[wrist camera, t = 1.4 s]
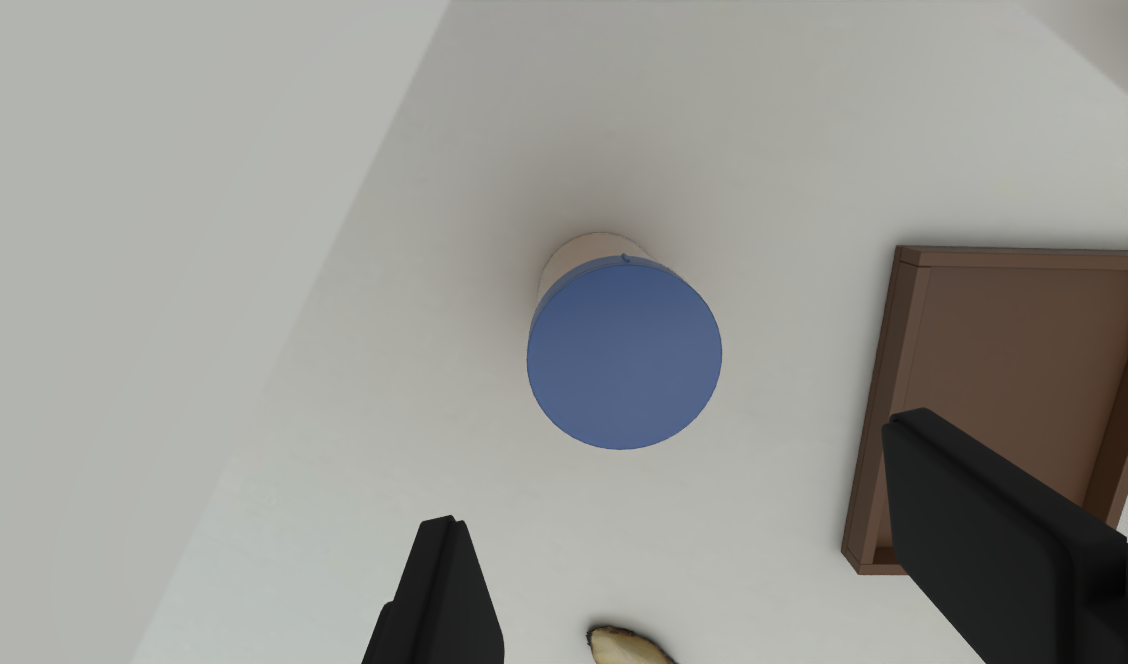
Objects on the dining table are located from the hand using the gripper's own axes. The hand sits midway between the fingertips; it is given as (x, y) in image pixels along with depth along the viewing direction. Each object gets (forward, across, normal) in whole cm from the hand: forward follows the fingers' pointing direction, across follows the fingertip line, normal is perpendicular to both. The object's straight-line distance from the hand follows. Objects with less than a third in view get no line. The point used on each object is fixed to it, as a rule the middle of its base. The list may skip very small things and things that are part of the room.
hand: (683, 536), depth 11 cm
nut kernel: (+20, +3, +22) cm, 29 cm away
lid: (+9, 0, 0) cm, 9 cm away
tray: (+19, -19, +11) cm, 29 cm away
